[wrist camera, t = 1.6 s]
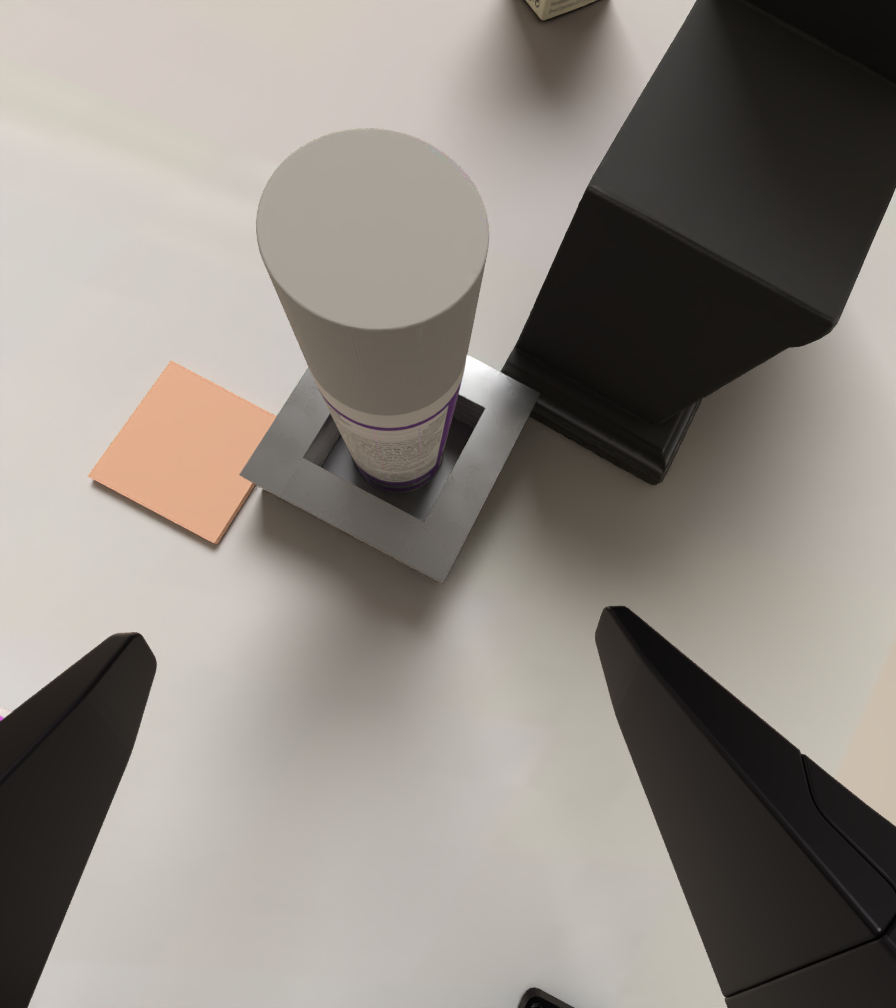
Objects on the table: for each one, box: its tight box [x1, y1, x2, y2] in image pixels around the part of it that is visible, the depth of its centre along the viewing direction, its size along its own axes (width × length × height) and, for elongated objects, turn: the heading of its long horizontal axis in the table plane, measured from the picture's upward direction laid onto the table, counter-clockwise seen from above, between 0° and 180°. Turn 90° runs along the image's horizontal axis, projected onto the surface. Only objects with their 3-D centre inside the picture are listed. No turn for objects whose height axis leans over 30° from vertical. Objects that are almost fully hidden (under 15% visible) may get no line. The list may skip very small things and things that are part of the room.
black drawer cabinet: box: [501, 0, 896, 485], centre depth 15 cm, size 23×11×24 cm, turn 151°
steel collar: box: [239, 355, 540, 583], centre depth 22 cm, size 10×10×3 cm
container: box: [256, 129, 489, 494], centre depth 16 cm, size 5×5×15 cm
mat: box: [88, 361, 277, 544], centre depth 22 cm, size 7×7×1 cm
